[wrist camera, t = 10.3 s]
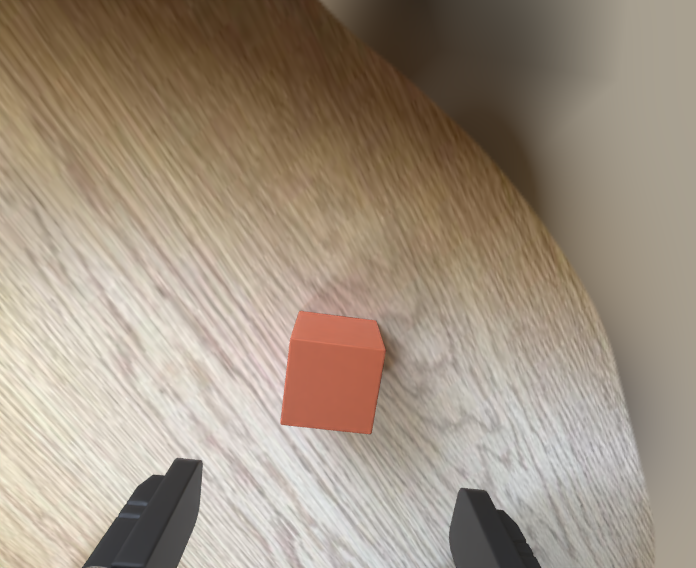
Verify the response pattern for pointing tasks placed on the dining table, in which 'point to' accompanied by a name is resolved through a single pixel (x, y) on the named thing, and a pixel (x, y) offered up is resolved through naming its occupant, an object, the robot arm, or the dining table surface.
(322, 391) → the block
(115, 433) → the dining table surface
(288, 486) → the dining table surface
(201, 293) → the dining table surface
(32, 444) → the dining table surface
